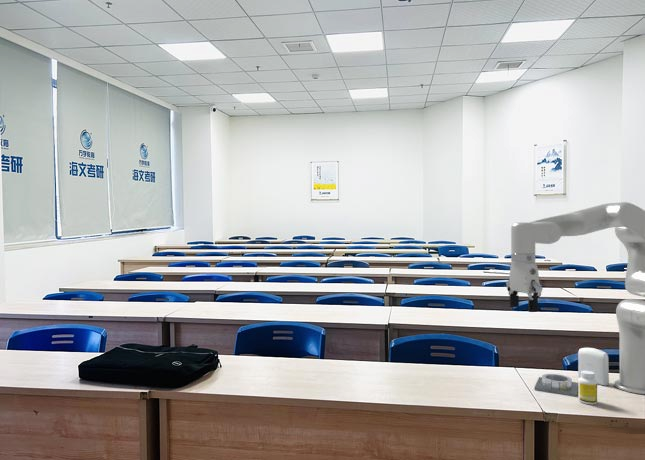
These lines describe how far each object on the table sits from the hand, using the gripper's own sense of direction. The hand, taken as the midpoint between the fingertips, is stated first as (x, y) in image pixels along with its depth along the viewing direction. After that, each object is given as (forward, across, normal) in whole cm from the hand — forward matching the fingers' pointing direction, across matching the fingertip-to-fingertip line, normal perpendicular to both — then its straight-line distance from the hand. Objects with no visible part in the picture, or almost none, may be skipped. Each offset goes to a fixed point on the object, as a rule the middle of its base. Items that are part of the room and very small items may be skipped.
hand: (523, 309), depth 159 cm
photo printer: (+30, +7, -35) cm, 47 cm away
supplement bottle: (+30, -9, -17) cm, 36 cm away
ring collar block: (+30, +5, -17) cm, 35 cm away
